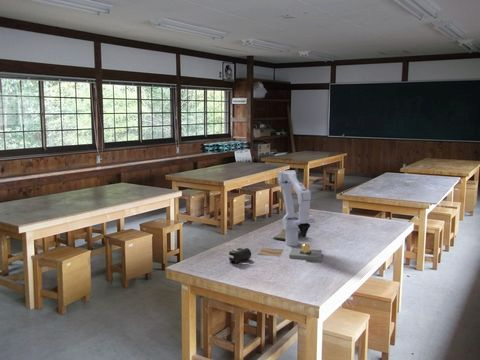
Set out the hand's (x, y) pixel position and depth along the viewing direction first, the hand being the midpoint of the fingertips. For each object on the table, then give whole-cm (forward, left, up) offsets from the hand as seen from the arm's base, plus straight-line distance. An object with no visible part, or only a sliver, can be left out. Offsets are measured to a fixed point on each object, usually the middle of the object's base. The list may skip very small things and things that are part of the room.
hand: (303, 236), depth 255 cm
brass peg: (+6, +2, -9) cm, 11 cm away
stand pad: (+5, -17, -9) cm, 20 cm away
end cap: (+23, -30, -10) cm, 39 cm away
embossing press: (-31, -12, -9) cm, 34 cm away
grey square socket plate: (+6, +2, -9) cm, 11 cm away
